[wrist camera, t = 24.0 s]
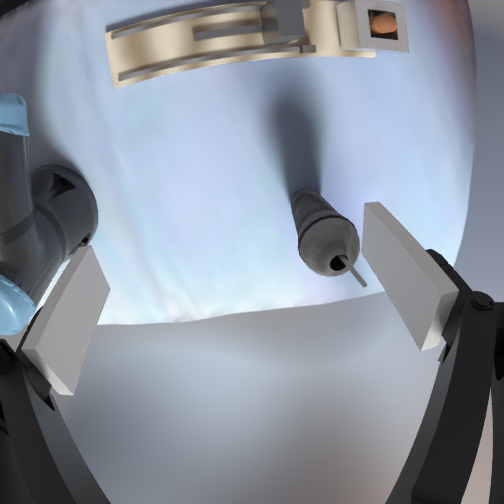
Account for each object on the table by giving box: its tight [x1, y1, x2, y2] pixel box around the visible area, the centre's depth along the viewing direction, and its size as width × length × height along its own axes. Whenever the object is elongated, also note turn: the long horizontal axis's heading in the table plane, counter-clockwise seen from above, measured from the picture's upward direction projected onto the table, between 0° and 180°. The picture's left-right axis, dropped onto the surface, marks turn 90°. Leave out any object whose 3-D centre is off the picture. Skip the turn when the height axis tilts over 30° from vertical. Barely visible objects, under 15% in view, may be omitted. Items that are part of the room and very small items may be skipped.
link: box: [336, 0, 409, 53], centre depth 27 cm, size 6×6×6 cm
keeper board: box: [105, 0, 397, 88], centre depth 27 cm, size 34×8×9 cm, turn 97°
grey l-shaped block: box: [193, 0, 306, 46], centre depth 25 cm, size 11×5×10 cm, turn 97°
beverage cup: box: [291, 189, 367, 287], centre depth 36 cm, size 7×7×20 cm
